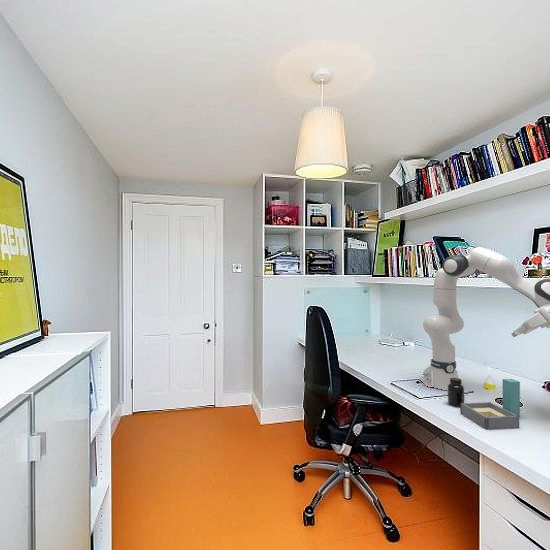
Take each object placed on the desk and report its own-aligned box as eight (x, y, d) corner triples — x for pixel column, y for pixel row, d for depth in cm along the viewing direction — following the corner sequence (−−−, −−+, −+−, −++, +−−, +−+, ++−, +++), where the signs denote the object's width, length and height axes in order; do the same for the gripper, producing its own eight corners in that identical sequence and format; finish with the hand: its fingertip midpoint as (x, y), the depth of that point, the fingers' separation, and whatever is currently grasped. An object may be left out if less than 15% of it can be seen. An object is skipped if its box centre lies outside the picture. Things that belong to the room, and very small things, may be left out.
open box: (460, 413, 154) (460, 403, 154) (490, 412, 155) (490, 402, 155) (486, 429, 138) (486, 418, 138) (519, 427, 140) (519, 416, 140)
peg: (502, 413, 154) (502, 379, 154) (511, 413, 155) (511, 378, 155) (510, 417, 150) (510, 382, 150) (519, 417, 150) (519, 381, 150)
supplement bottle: (459, 402, 168) (459, 376, 168) (467, 407, 161) (467, 381, 161) (444, 402, 168) (444, 376, 168) (452, 407, 161) (452, 381, 161)
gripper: (536, 315, 160) (506, 330, 163) (543, 307, 142) (510, 325, 146) (546, 327, 157) (516, 343, 160) (555, 320, 139) (521, 338, 143)
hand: (513, 334), depth 153 cm, fingers open, 8 cm apart
